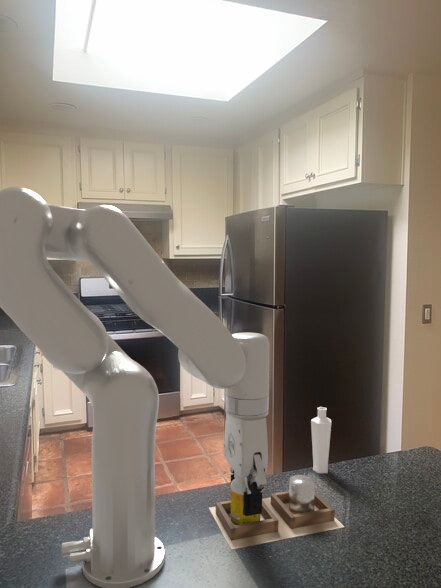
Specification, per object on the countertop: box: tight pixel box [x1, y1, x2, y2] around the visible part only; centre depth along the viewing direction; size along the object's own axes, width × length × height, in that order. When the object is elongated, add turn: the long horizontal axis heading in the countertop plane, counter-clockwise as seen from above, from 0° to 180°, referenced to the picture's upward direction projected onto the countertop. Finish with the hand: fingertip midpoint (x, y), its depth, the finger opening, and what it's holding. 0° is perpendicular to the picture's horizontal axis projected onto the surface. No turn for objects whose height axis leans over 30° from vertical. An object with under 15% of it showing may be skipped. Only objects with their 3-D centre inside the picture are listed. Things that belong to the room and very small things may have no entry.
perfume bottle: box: [310, 406, 332, 474], centre depth 99 cm, size 5×4×15 cm
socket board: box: [208, 490, 345, 551], centre depth 81 cm, size 21×13×3 cm, turn 108°
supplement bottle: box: [230, 469, 260, 525], centre depth 79 cm, size 5×5×10 cm
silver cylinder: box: [288, 474, 316, 515], centre depth 83 cm, size 5×5×6 cm
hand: (245, 503), depth 79 cm, fingers open, 5 cm apart
